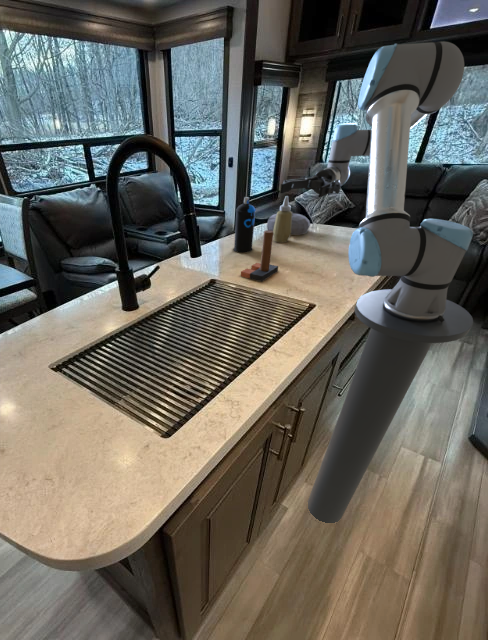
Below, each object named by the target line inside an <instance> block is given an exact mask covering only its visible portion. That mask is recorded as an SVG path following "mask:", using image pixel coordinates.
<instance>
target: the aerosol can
mask: <svg viewBox="0 0 488 640" xmlns="http://www.w3.org/2000/svg"><path fill="white" fill-rule="evenodd" d="M256 211H257V209H256V207H255V206H254V205H252V204H251V203H250V197H248V196H244V197H243V203H242V204H240V205H238V206H237V207H236V208H235V227H234V245H233V246H234V248H233V251H234V252H235V253H239V254H247V253H250V252H252V251H253V243H254V240H253V239H254V230H255V229H254V228H255V219H256Z"/></svg>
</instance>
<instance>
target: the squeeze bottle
mask: <svg viewBox="0 0 488 640" xmlns="http://www.w3.org/2000/svg"><path fill="white" fill-rule="evenodd" d="M289 201H290V200H289V195H285V196H284V199H283V203H282V204H281V205H279V210H278V211H277V212H276V214H277V216H276V220H275V225H274V230H273V241H274V242H275V243H279V244H280V243H281V244H282V243H287V242H288V240H289V238H290V237H291V235H290V234H291V224H292V213H293V211H291V208H292V206H291V205H290V204H289Z"/></svg>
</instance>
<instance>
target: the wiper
mask: <svg viewBox="0 0 488 640" xmlns="http://www.w3.org/2000/svg"><path fill="white" fill-rule="evenodd" d="M273 241H274V235H273V231H272V230H268V229H267V230H264V231H263V237H262V246H261V247H262V248H261V257H260V263H261V266H260V268H259V269H257V270H255V271H253V272H252V273H250V280H253V281H257V282H263V281H265V280H267V279H268V278H271V276H273V275H275V274H276V273H278V272H279V266H278V265H275V264H271V258H272V257H271V256H272V247H273Z"/></svg>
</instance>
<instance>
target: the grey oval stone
mask: <svg viewBox="0 0 488 640" xmlns="http://www.w3.org/2000/svg"><path fill="white" fill-rule="evenodd" d="M276 216H277V213H274V214H272V215H270V216H269V217H268V219H267V223H266V229H267V230H272V231H273V230H274V225H275V220H276ZM310 226H311V221H310V220H309V219H308V218H307V217H306V216H305V215H303V214H300V213H297V212H292V224H291V234H290V236H296V235H305V234H307V233H308V231H309V228H310Z"/></svg>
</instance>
